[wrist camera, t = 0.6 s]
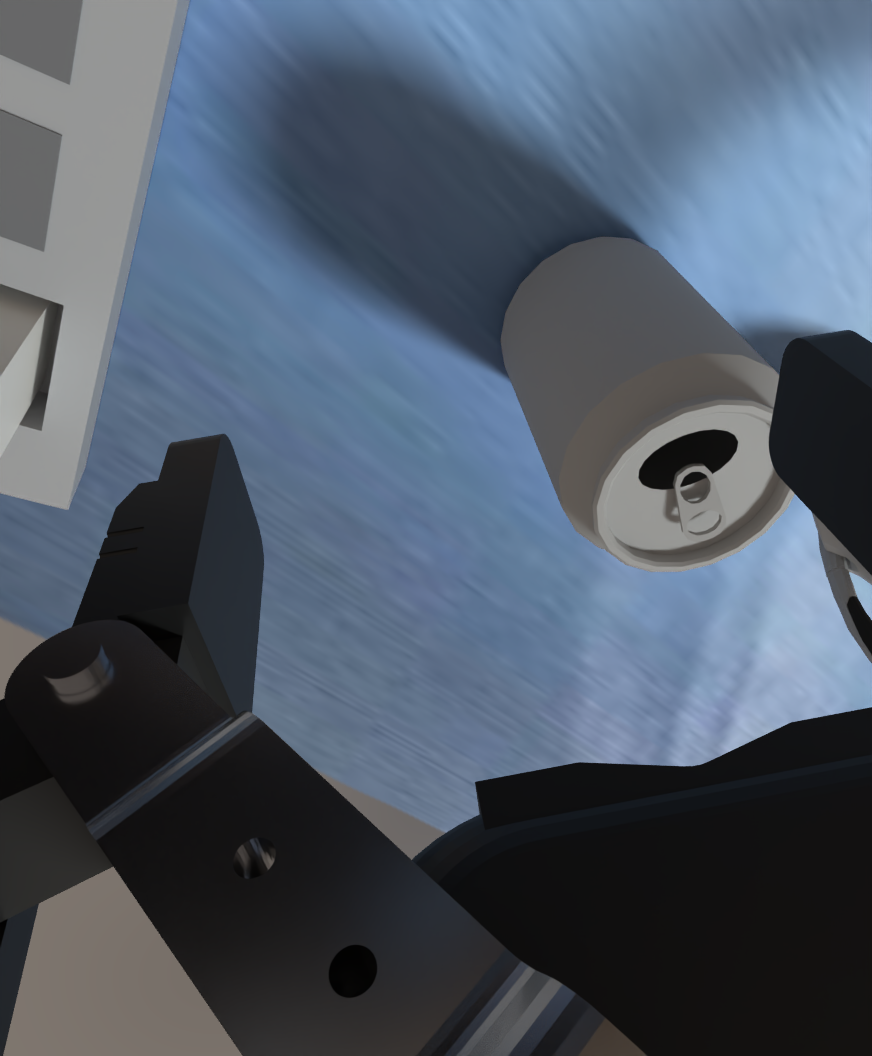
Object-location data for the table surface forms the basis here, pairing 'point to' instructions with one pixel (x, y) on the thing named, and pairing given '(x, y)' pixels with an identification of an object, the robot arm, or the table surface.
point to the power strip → (75, 200)
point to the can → (643, 406)
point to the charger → (22, 354)
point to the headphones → (846, 586)
